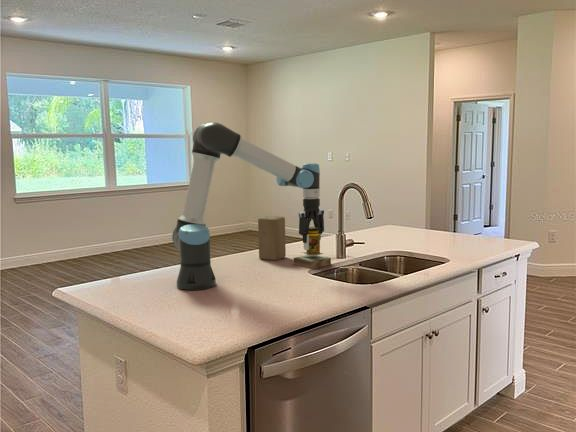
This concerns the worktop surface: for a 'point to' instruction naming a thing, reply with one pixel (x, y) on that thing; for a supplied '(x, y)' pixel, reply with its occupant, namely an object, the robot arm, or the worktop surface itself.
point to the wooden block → (271, 237)
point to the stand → (312, 261)
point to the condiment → (313, 242)
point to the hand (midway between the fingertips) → (311, 248)
